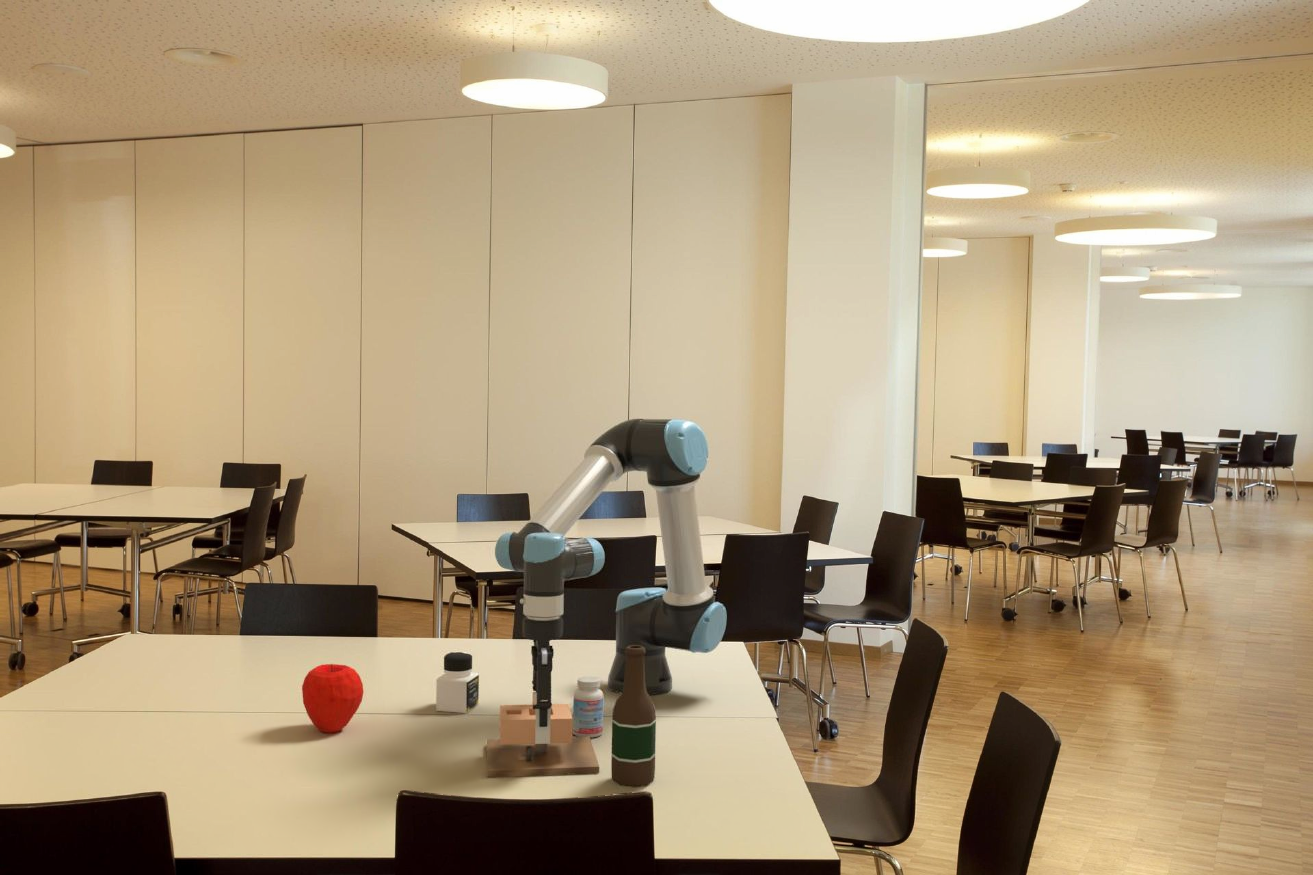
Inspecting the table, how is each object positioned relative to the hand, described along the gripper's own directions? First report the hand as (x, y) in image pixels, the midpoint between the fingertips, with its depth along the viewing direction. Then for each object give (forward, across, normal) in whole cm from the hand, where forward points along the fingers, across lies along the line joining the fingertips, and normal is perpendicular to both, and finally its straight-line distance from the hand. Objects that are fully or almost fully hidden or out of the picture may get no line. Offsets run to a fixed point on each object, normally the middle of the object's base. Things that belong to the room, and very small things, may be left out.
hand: (540, 734), depth 207 cm
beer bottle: (+5, +13, +16) cm, 21 cm away
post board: (+5, 0, 0) cm, 5 cm away
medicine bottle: (+5, -36, -16) cm, 39 cm away
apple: (+5, -23, -40) cm, 47 cm away
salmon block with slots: (0, 0, -1) cm, 1 cm away
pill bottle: (+5, -14, +10) cm, 18 cm away
